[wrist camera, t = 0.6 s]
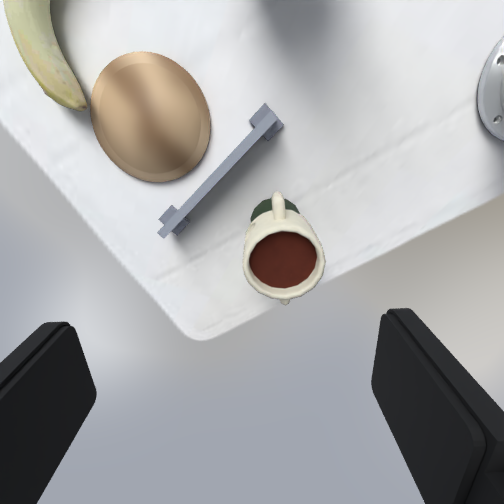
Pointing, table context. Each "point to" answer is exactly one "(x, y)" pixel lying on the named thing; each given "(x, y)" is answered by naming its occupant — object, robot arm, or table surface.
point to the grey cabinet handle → (221, 170)
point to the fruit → (43, 51)
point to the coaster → (150, 116)
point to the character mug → (281, 251)
